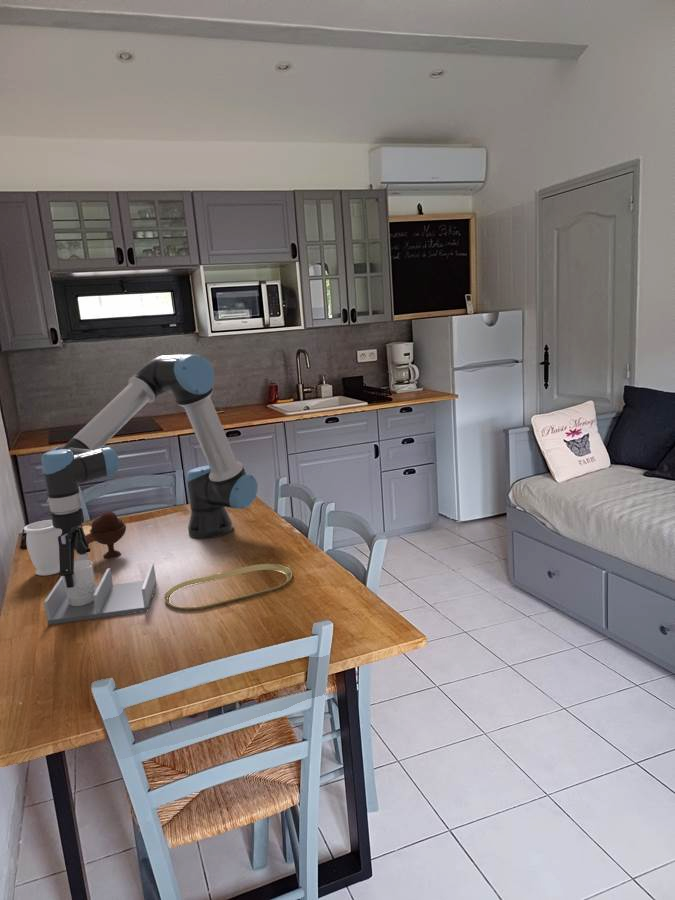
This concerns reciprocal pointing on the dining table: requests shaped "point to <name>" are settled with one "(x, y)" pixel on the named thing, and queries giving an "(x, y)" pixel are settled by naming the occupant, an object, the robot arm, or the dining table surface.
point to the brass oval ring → (228, 574)
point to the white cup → (83, 583)
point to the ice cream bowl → (108, 532)
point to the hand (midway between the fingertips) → (80, 586)
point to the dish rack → (102, 599)
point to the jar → (43, 546)
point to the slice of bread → (87, 533)
